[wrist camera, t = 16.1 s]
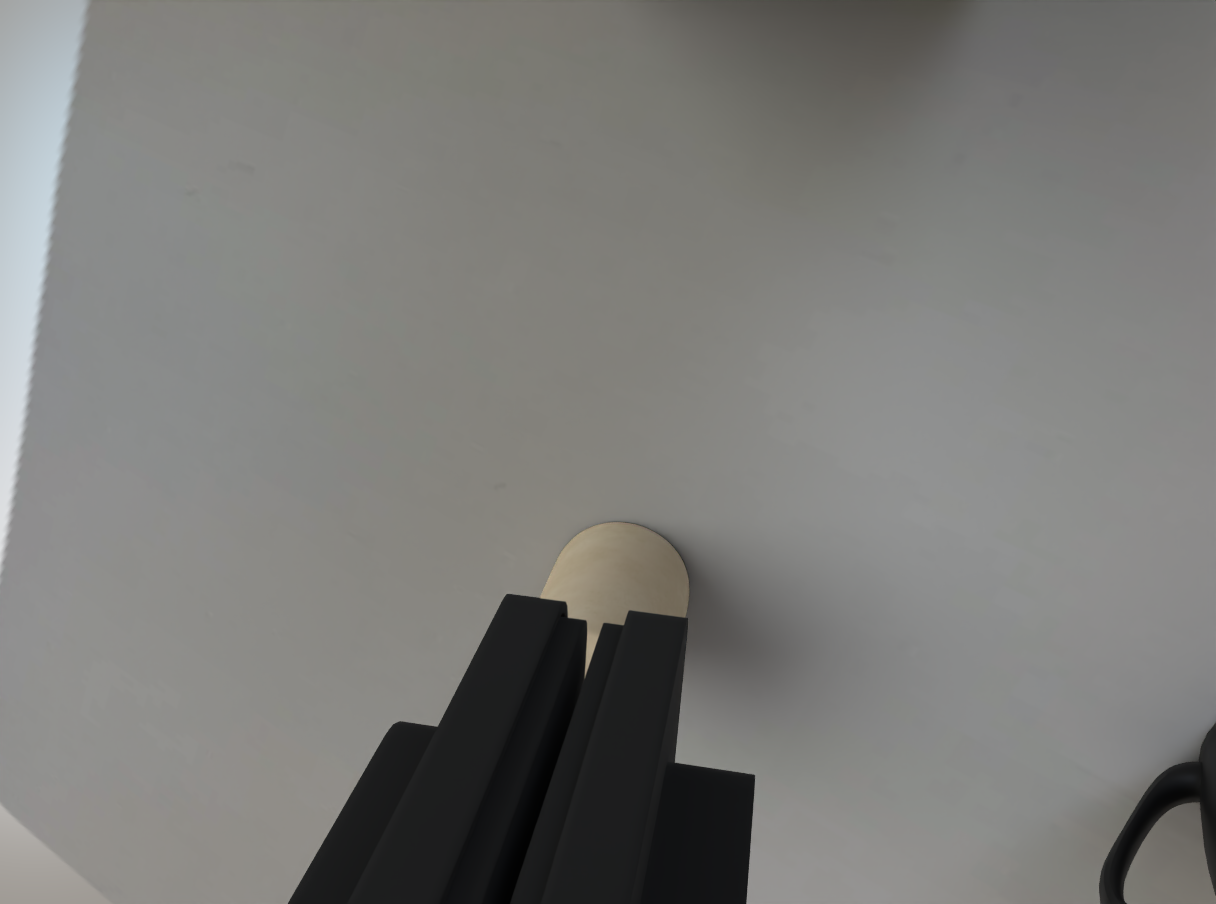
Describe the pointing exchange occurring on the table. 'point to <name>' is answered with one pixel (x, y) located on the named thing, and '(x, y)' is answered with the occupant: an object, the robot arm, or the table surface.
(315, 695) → the table surface
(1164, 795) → the mug
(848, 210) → the table surface
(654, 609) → the candle
